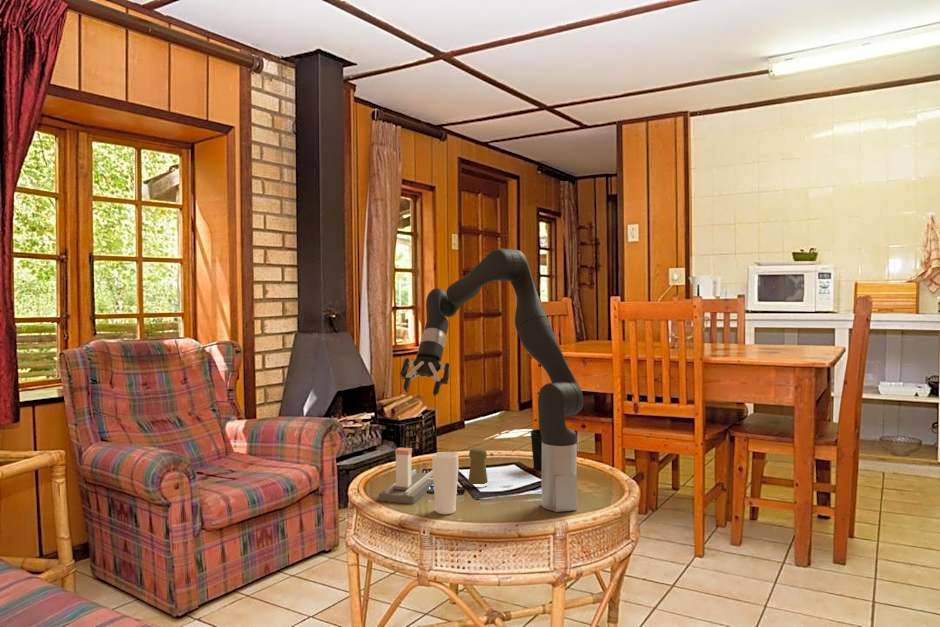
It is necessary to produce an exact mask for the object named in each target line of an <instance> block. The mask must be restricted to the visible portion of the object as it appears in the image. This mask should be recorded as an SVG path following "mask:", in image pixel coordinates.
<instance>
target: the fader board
mask: <svg viewBox="0 0 940 627" xmlns="http://www.w3.org/2000/svg"><path fill="white" fill-rule="evenodd" d="M411 484H413V486H411V487H410V488H409V489H408V490H398V489H394V487H395V486H396V481H394V482H393V483H392V484H390V485H389V486H388V487H385V489H384V490H383V489H382V491H380V492H379V493H378V501H379V500H381V501H380V502H385V501H388V503H399V504H411V505H414V504H415V503H417V501H419V500H420V499H421V498H422V497H423V496H424V495H426V493H428V492H429V491H428V489H429V487H430V486H431V485H432V484H433V471H432V470H430V471H429V472H420V471H419V472H417V469H411ZM427 491H428V492H427Z"/></svg>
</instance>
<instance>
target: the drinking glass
mask: <svg viewBox="0 0 940 627" xmlns="http://www.w3.org/2000/svg"><path fill="white" fill-rule="evenodd" d="M431 462H432V468H431V471H433V483H434V486H433V492H434V510H435V512H436V513H437V514H439V515H452V514H454V513H455V512H456V509H457V506H456V505H457V490H458V480H459V454H458V453H456V452H451V451H441V452H439V451H438V452H434V453H432V461H431Z"/></svg>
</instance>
